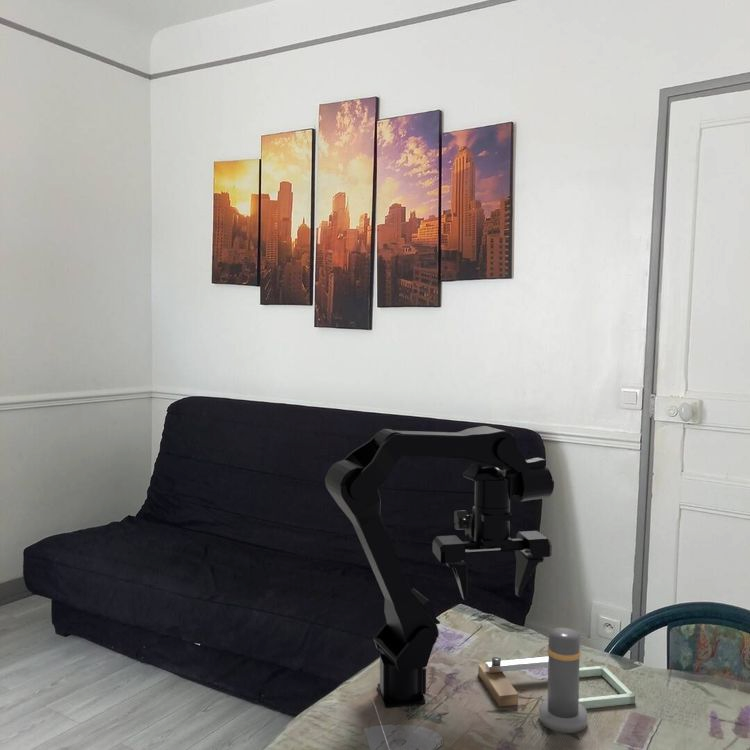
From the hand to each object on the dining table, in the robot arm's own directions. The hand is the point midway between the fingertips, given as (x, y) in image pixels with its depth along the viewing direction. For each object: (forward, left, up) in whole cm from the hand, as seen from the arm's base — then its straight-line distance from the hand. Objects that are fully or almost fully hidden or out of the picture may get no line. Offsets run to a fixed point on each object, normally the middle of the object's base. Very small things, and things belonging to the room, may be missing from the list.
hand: (491, 597), depth 116 cm
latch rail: (-1, -5, -13) cm, 14 cm away
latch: (+5, -3, -11) cm, 12 cm away
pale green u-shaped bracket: (+14, -8, -13) cm, 21 cm away
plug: (+6, -15, -13) cm, 21 cm away
